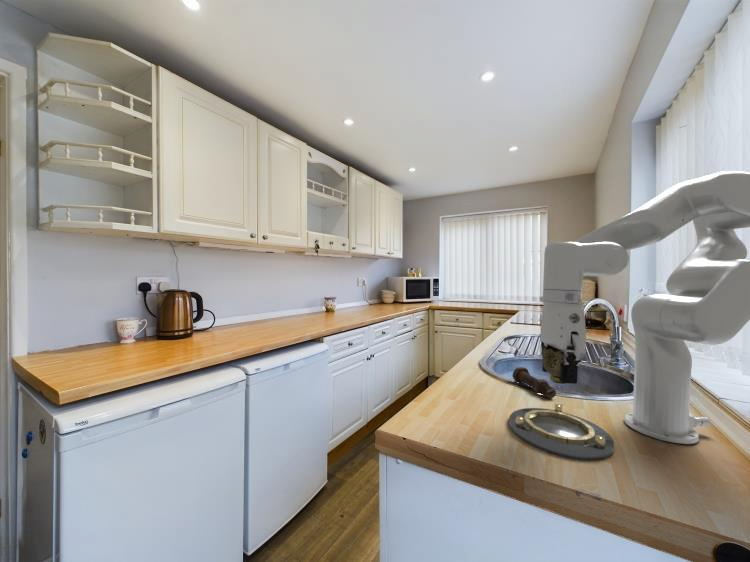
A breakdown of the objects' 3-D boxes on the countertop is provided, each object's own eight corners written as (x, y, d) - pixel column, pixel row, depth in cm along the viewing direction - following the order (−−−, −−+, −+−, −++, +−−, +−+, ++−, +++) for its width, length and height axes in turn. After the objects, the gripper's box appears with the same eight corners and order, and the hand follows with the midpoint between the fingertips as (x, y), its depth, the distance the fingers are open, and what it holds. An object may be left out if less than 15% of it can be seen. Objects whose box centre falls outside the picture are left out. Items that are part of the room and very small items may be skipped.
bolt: (548, 406, 87) (517, 385, 102) (563, 397, 87) (529, 377, 102) (540, 390, 86) (509, 371, 101) (555, 380, 86) (522, 363, 101)
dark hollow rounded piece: (585, 390, 64) (586, 352, 63) (547, 386, 65) (548, 349, 65) (569, 378, 71) (571, 344, 71) (535, 375, 72) (536, 342, 72)
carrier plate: (574, 413, 78) (575, 401, 78) (640, 462, 58) (640, 445, 58) (496, 411, 79) (496, 399, 79) (534, 458, 59) (534, 442, 59)
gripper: (607, 301, 59) (603, 392, 59) (556, 295, 76) (554, 365, 77) (568, 300, 59) (564, 391, 60) (526, 294, 76) (524, 364, 77)
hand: (558, 376), depth 68 cm, fingers closed on dark hollow rounded piece, 6 cm apart
